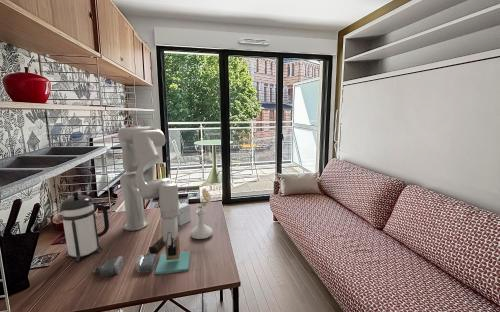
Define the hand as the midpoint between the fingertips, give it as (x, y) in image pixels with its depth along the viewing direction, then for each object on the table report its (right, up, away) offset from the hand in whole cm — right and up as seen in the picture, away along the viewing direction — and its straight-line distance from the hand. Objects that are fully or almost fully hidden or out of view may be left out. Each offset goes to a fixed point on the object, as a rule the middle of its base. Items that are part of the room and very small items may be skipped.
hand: (173, 251), depth 109 cm
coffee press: (-44, -5, +11) cm, 46 cm away
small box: (-7, +2, +41) cm, 42 cm away
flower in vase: (+8, -1, +25) cm, 27 cm away
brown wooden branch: (-11, -3, +17) cm, 20 cm away
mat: (0, -6, +1) cm, 6 cm away
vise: (-19, -7, -2) cm, 21 cm away
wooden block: (0, -2, 0) cm, 3 cm away
